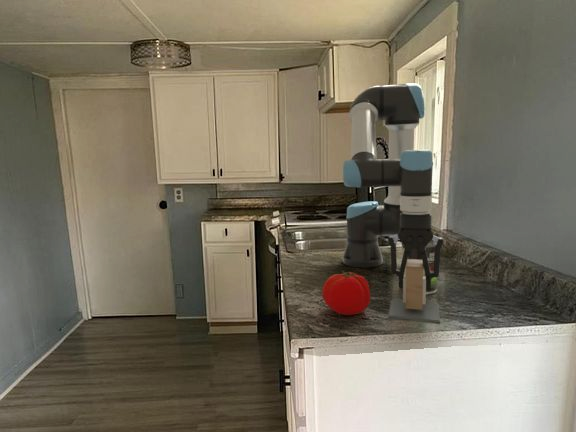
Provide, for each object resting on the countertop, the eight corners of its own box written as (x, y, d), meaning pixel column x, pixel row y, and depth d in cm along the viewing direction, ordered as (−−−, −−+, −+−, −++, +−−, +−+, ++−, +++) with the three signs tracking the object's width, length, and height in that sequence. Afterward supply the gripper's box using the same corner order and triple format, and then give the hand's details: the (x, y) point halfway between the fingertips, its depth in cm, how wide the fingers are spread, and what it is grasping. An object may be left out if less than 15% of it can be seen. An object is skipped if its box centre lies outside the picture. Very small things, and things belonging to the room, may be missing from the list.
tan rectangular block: (406, 298, 102) (407, 259, 100) (422, 300, 101) (423, 259, 99) (405, 308, 95) (406, 266, 94) (422, 309, 94) (423, 267, 93)
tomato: (371, 322, 92) (371, 281, 91) (321, 320, 94) (320, 280, 93) (369, 302, 105) (369, 265, 104) (324, 301, 107) (324, 265, 106)
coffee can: (444, 290, 113) (446, 244, 111) (419, 297, 108) (420, 249, 106) (418, 281, 122) (419, 238, 120) (394, 287, 117) (394, 242, 115)
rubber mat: (392, 300, 106) (392, 298, 106) (438, 304, 102) (438, 302, 102) (388, 317, 95) (388, 315, 95) (439, 322, 91) (439, 320, 91)
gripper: (379, 213, 94) (379, 303, 97) (453, 214, 88) (451, 310, 92) (382, 210, 101) (382, 293, 104) (451, 210, 95) (449, 299, 99)
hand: (414, 301), depth 98 cm, fingers closed on tan rectangular block, 4 cm apart
